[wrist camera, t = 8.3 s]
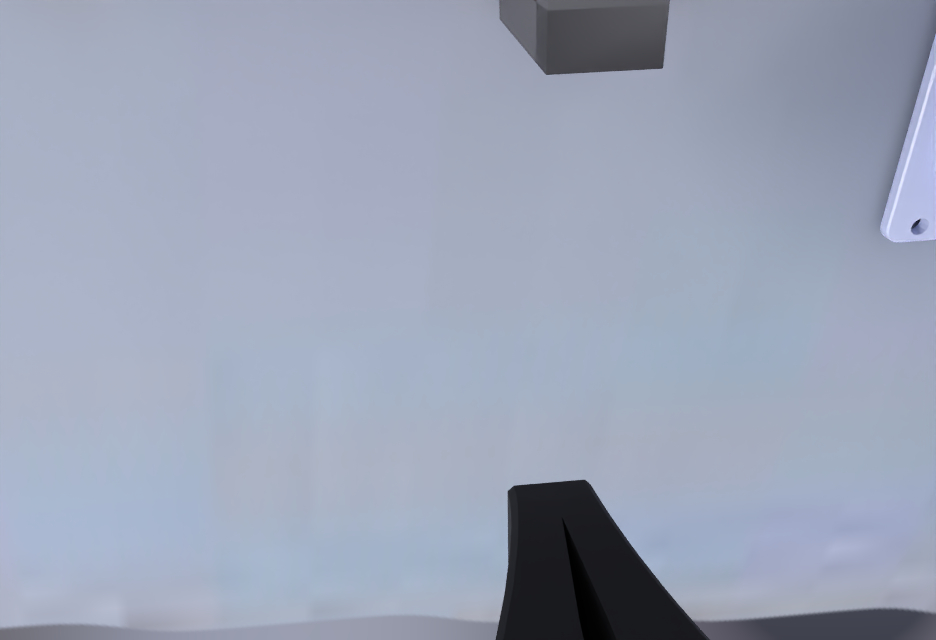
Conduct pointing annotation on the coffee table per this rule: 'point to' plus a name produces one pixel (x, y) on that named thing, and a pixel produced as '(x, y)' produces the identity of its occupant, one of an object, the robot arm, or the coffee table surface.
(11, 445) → the coffee table surface
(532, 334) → the coffee table surface
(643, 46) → the grey square collar
